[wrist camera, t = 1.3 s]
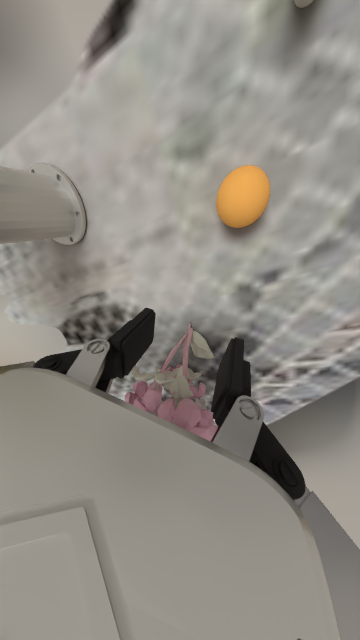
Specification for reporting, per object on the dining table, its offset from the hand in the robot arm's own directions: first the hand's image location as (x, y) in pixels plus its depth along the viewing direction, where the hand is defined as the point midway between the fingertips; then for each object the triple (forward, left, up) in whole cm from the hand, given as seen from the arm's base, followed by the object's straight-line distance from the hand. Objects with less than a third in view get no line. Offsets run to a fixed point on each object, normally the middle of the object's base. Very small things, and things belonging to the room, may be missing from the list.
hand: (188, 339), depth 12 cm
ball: (0, +10, -17) cm, 19 cm away
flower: (-1, -23, -20) cm, 31 cm away
